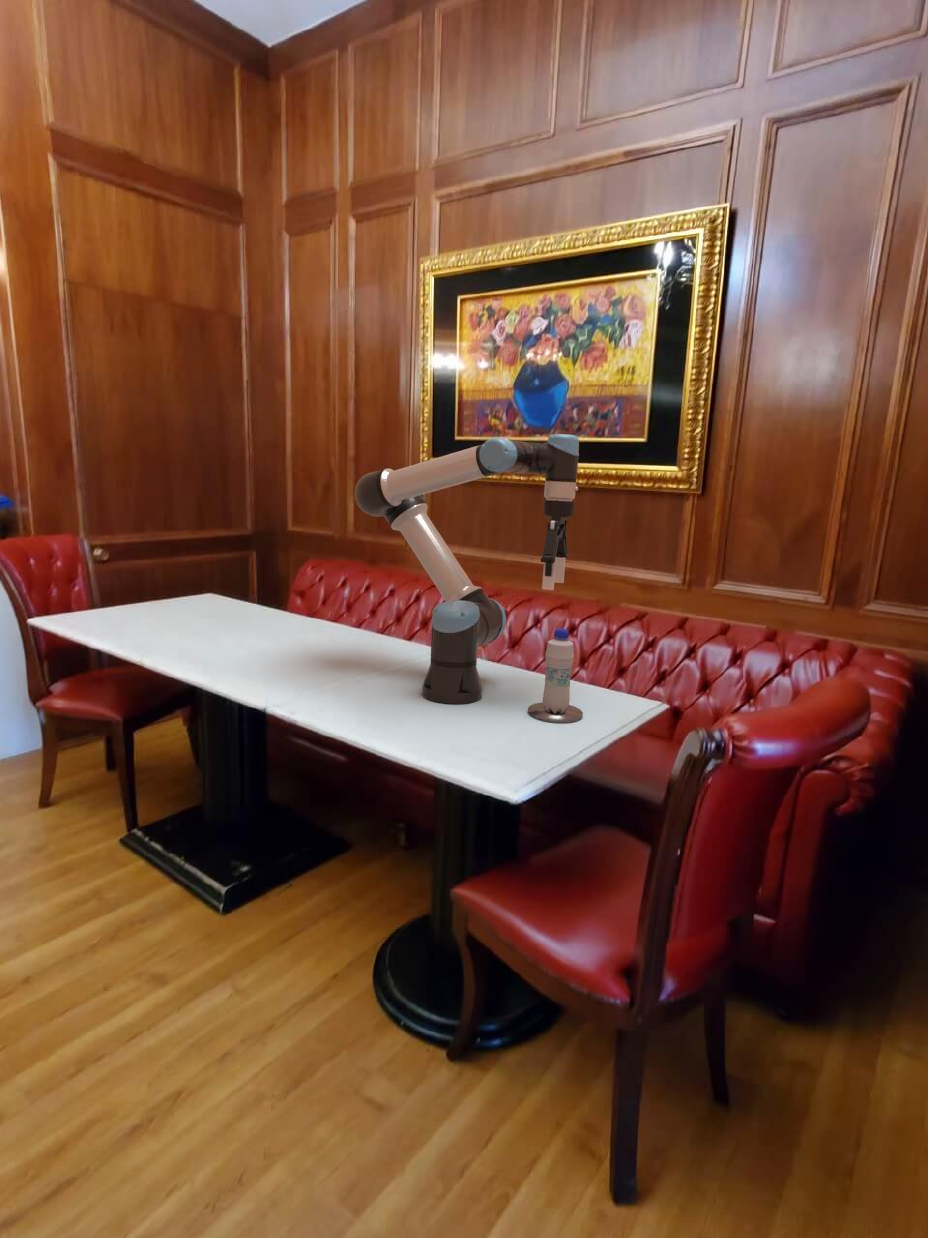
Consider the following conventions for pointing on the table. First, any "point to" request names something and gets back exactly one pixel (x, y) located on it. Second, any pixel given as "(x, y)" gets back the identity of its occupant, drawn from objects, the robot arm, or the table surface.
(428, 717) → the table surface
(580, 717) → the flange disc
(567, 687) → the bottle
